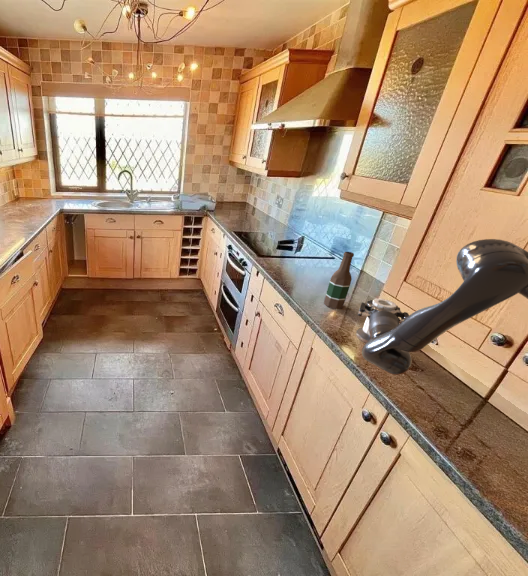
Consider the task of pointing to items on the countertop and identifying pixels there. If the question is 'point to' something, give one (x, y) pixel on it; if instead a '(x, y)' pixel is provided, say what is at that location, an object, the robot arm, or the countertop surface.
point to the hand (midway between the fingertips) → (382, 305)
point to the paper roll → (380, 304)
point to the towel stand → (362, 335)
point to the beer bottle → (339, 283)
